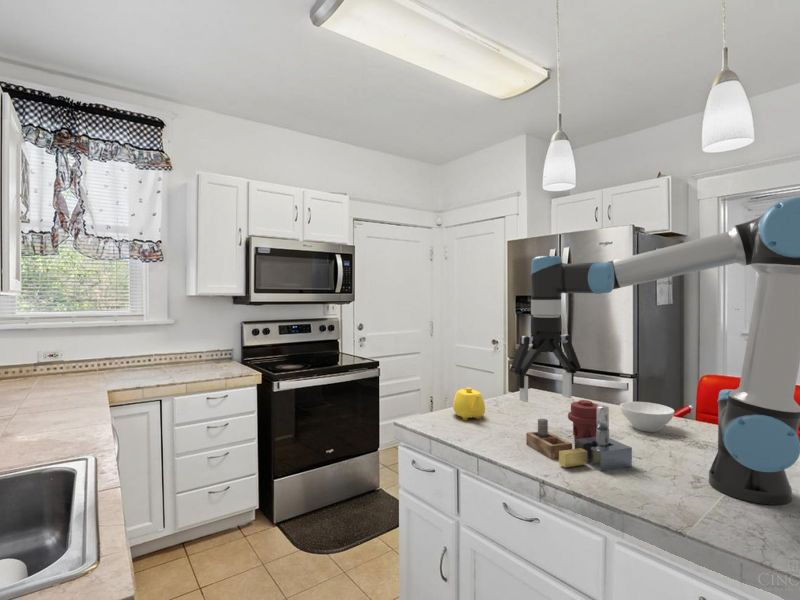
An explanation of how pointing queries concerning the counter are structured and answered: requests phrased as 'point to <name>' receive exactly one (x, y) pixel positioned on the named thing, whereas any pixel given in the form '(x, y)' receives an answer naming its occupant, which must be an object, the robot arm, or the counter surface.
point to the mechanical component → (583, 419)
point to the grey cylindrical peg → (602, 426)
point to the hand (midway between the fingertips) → (545, 398)
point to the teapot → (469, 404)
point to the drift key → (573, 457)
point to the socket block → (606, 454)
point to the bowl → (647, 415)
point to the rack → (546, 441)
